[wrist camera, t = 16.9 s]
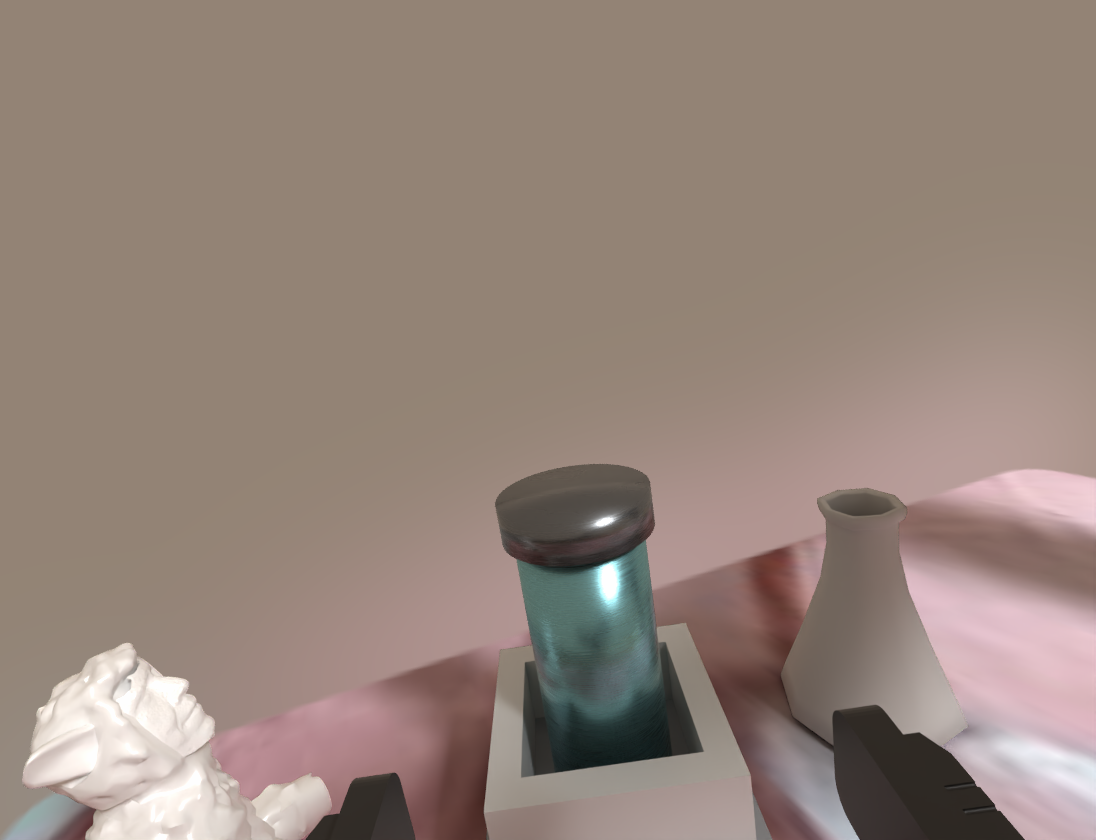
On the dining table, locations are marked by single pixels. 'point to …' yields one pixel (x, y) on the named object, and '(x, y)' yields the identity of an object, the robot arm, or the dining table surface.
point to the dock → (620, 766)
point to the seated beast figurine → (154, 761)
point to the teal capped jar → (590, 610)
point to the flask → (867, 629)
